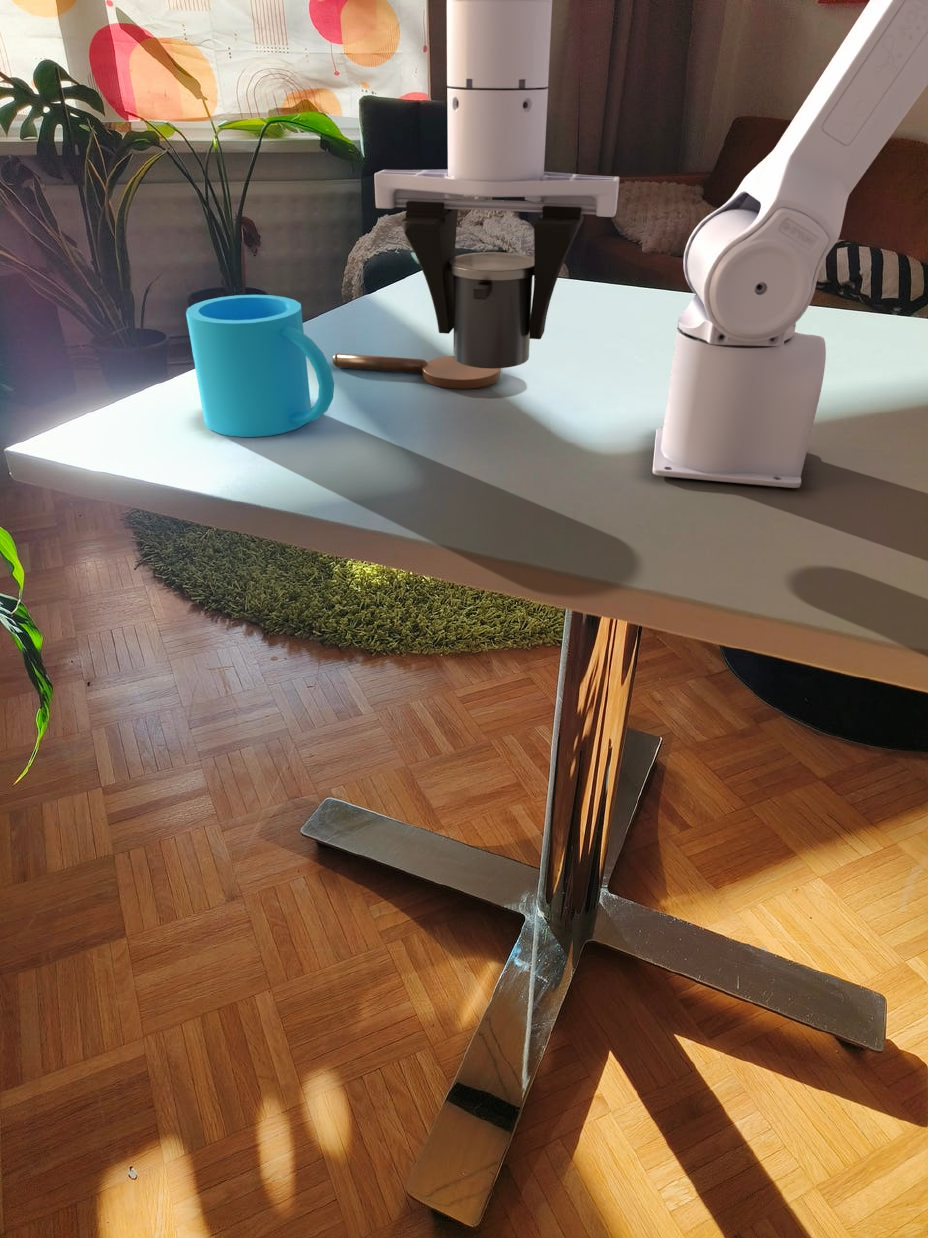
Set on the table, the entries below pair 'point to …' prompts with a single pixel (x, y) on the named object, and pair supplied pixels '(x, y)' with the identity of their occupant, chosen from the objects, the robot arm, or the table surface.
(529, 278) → the pot
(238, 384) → the mug
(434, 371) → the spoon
